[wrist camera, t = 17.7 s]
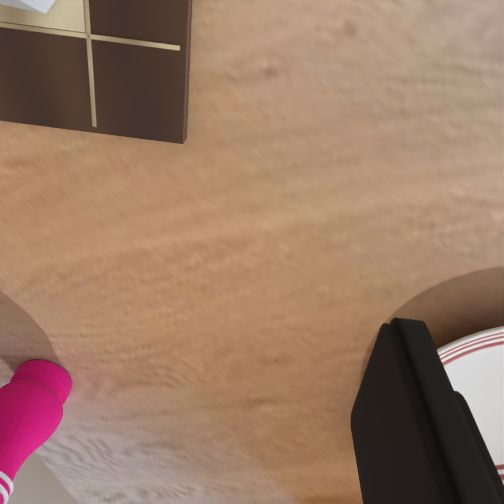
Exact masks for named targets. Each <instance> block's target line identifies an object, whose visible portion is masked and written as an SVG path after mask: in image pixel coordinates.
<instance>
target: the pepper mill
mask: <svg viewBox="0 0 504 504" xmlns="http://www.w3.org/2000/svg"><path fill="white" fill-rule="evenodd" d="M71 389H72V381H71V378H70V377H69V375H68V374H67V372H66V371H65V370H63V369H62V368H61V367H60V366H58V365H56V364H54V363H51V362H48V361H44V360H31V361H27V362H25V363H23V364H22V365H20V366H19V368H18V369H17V371H16V372H15V374H14V375H13V377H12V378H11V381H10V383H8V384H6V385H4V386H3V387H1V388H0V504H6V503H7V502H8V498H9V496H10V495H11V493H12V492H13V489H14V486H13V482H12V481H13V479H14V477H15V474H16V472H17V471H18V470H19V468H20V466H21V465H22V464H23V462H24V461H25V460H26V459H27V457H29V456H30V455H31V454H32V453H33V452H34V451H35V450H36V449H37V448H38V447H39V446H41V445H42V444H43V443H44V442H45V441H46V440H48V438H49V437H50V436H51V435H52V434H53V433H54V431H55V430H56V428H57V427H58V425H59V423H60V422H61V419H62V416H63V407H62V405H63V404H64V403H65V401H66V399H67V397H68V395H69V393H70V391H71Z"/></svg>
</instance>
